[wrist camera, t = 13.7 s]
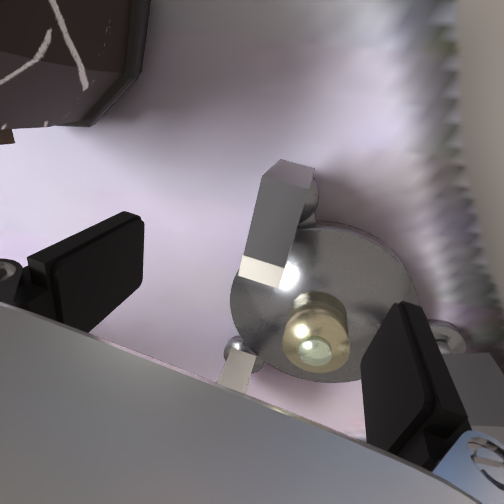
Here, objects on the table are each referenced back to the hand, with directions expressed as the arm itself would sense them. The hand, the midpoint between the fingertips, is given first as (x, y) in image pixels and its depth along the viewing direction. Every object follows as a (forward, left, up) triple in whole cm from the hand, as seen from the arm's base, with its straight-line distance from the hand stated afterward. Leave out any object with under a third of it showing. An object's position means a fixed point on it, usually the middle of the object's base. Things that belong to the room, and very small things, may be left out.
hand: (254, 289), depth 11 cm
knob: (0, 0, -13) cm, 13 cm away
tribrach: (+7, -9, -15) cm, 19 cm away
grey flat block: (0, -19, -13) cm, 23 cm away
